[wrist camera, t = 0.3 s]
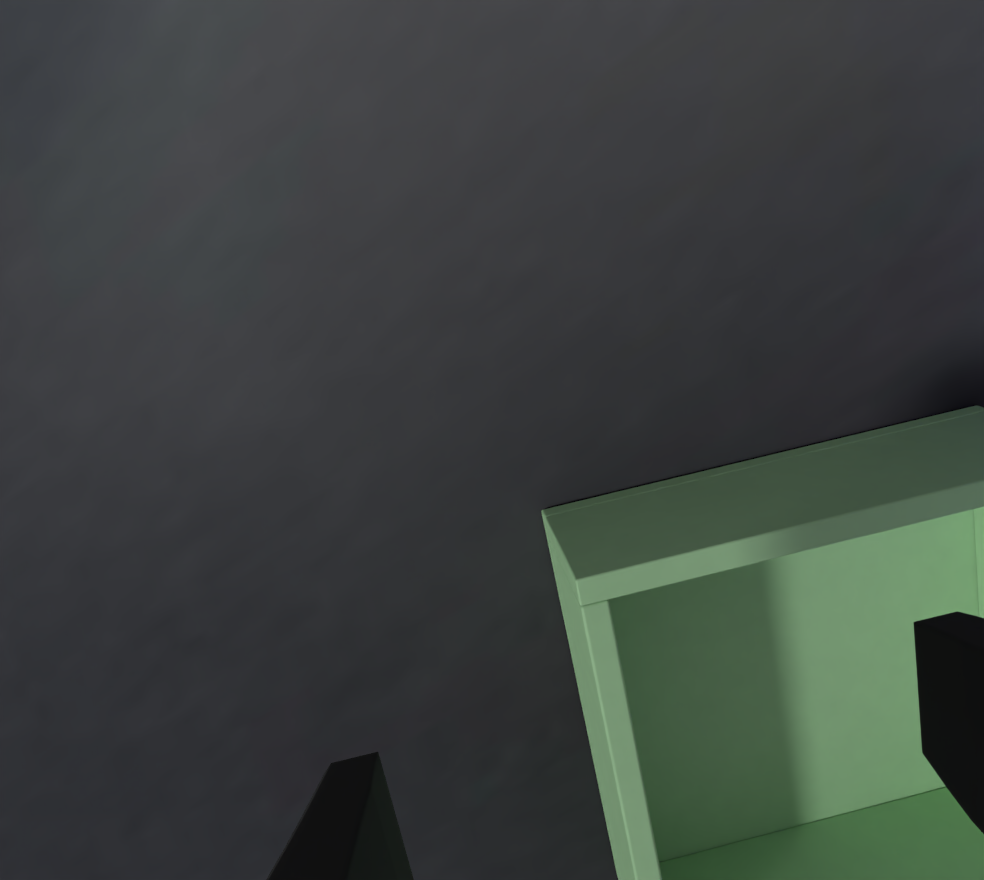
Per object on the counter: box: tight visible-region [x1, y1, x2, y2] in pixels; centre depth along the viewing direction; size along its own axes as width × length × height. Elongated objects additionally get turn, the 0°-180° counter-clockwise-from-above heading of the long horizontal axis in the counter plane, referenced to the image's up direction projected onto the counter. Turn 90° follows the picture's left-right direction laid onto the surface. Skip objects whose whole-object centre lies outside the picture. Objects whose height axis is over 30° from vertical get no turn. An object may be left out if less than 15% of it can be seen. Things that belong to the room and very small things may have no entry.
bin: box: [542, 405, 984, 880], centre depth 21 cm, size 11×11×4 cm
